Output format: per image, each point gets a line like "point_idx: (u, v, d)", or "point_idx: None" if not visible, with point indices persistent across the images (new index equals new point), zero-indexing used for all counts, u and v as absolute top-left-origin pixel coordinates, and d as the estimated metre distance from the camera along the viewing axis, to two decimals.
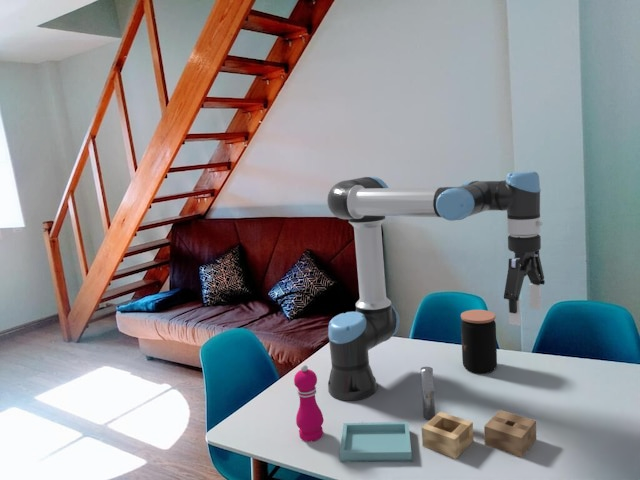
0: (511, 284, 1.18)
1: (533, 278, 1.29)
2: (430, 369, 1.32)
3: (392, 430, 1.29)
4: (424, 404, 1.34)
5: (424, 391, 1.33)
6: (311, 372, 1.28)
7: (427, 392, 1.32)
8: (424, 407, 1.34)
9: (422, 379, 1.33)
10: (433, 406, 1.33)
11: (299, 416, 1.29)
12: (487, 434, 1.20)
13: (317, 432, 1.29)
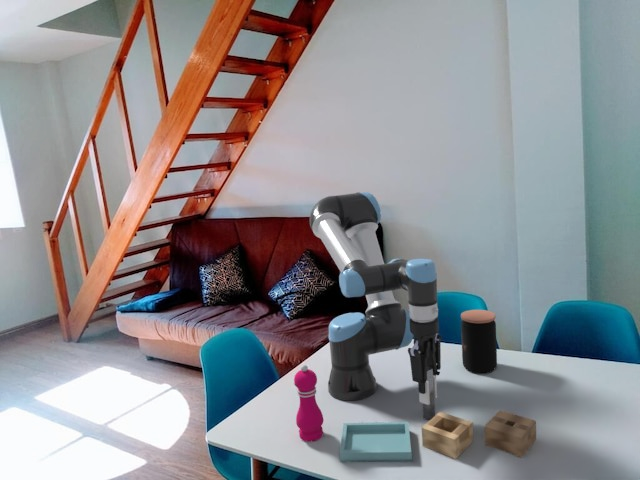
0: (415, 371, 1.28)
1: (430, 365, 1.34)
2: (430, 369, 1.32)
3: (392, 430, 1.29)
4: (424, 404, 1.34)
5: None
6: (311, 372, 1.28)
7: None
8: (424, 407, 1.34)
9: None
10: (433, 406, 1.33)
11: (299, 416, 1.29)
12: (487, 434, 1.20)
13: (317, 432, 1.29)
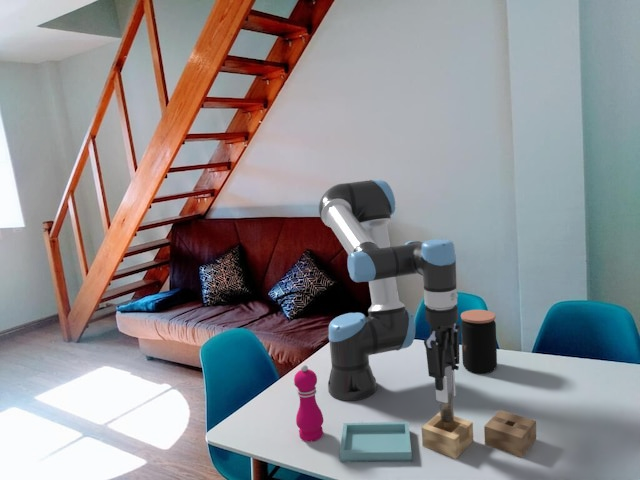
0: (432, 364, 1.15)
1: (448, 359, 1.20)
2: (448, 366, 1.19)
3: (392, 430, 1.29)
4: (441, 405, 1.20)
5: None
6: (311, 372, 1.28)
7: None
8: (441, 408, 1.20)
9: None
10: (452, 407, 1.20)
11: (299, 416, 1.29)
12: (487, 434, 1.20)
13: (317, 432, 1.29)
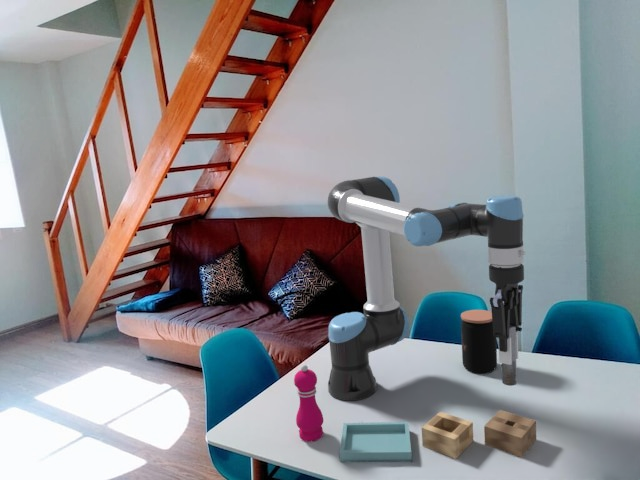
0: (498, 324, 1.11)
1: (511, 320, 1.17)
2: (512, 327, 1.15)
3: (392, 430, 1.29)
4: (505, 367, 1.16)
5: None
6: (311, 372, 1.28)
7: None
8: (504, 371, 1.17)
9: None
10: (515, 369, 1.16)
11: (299, 416, 1.29)
12: (487, 434, 1.20)
13: (317, 432, 1.29)
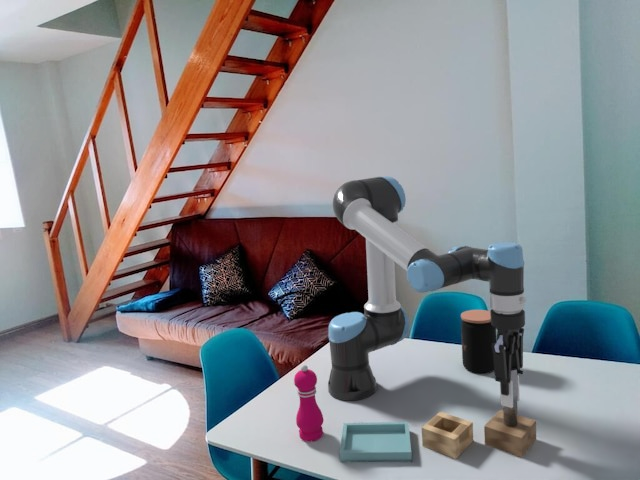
0: (500, 369, 1.13)
1: (512, 363, 1.19)
2: (514, 370, 1.17)
3: (392, 430, 1.29)
4: (506, 409, 1.18)
5: None
6: (311, 372, 1.28)
7: None
8: (506, 412, 1.19)
9: None
10: (516, 411, 1.18)
11: (299, 416, 1.29)
12: (487, 434, 1.20)
13: (317, 432, 1.29)
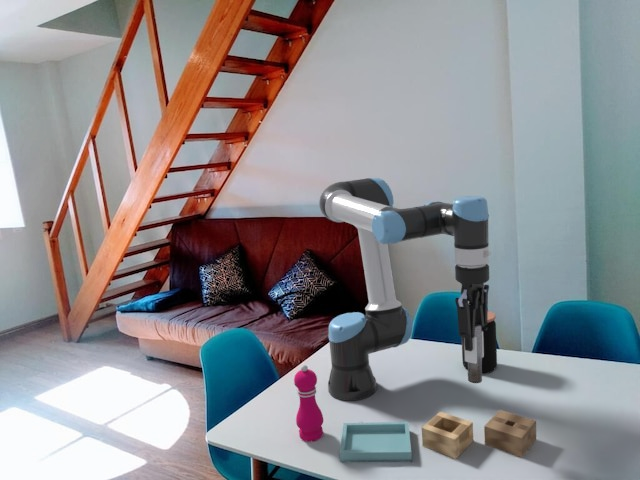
0: (463, 324, 1.12)
1: (476, 319, 1.18)
2: (478, 325, 1.16)
3: (392, 430, 1.29)
4: (470, 365, 1.18)
5: None
6: (311, 372, 1.28)
7: None
8: (470, 369, 1.18)
9: None
10: (480, 367, 1.18)
11: (299, 416, 1.29)
12: (487, 434, 1.20)
13: (317, 432, 1.29)
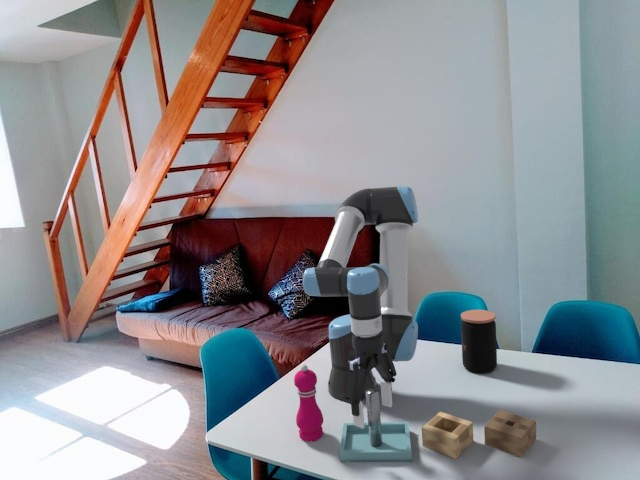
0: (350, 388, 1.15)
1: (383, 375, 1.25)
2: (376, 391, 1.22)
3: (392, 430, 1.29)
4: (369, 429, 1.23)
5: (369, 415, 1.22)
6: (311, 372, 1.28)
7: (372, 416, 1.22)
8: (370, 433, 1.23)
9: (367, 402, 1.22)
10: (379, 432, 1.23)
11: (299, 416, 1.29)
12: (487, 434, 1.20)
13: (317, 432, 1.29)
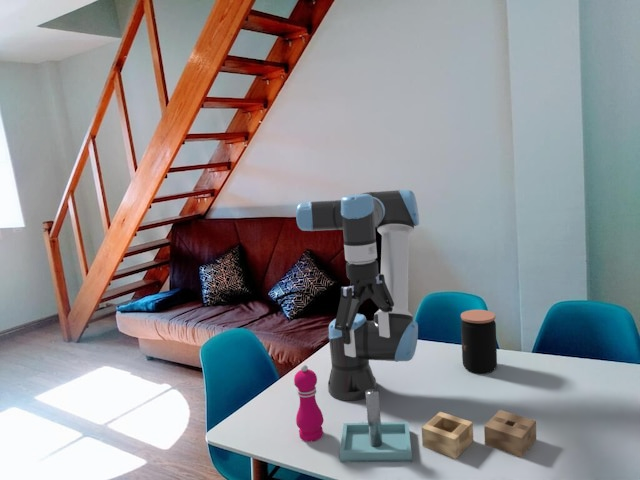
0: (341, 314, 1.12)
1: (380, 305, 1.22)
2: (375, 392, 1.22)
3: (392, 430, 1.29)
4: (369, 430, 1.23)
5: (369, 415, 1.22)
6: (311, 372, 1.28)
7: (372, 417, 1.21)
8: (370, 433, 1.23)
9: (367, 403, 1.22)
10: (379, 432, 1.23)
11: (299, 416, 1.29)
12: (487, 434, 1.20)
13: (317, 432, 1.29)
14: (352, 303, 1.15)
